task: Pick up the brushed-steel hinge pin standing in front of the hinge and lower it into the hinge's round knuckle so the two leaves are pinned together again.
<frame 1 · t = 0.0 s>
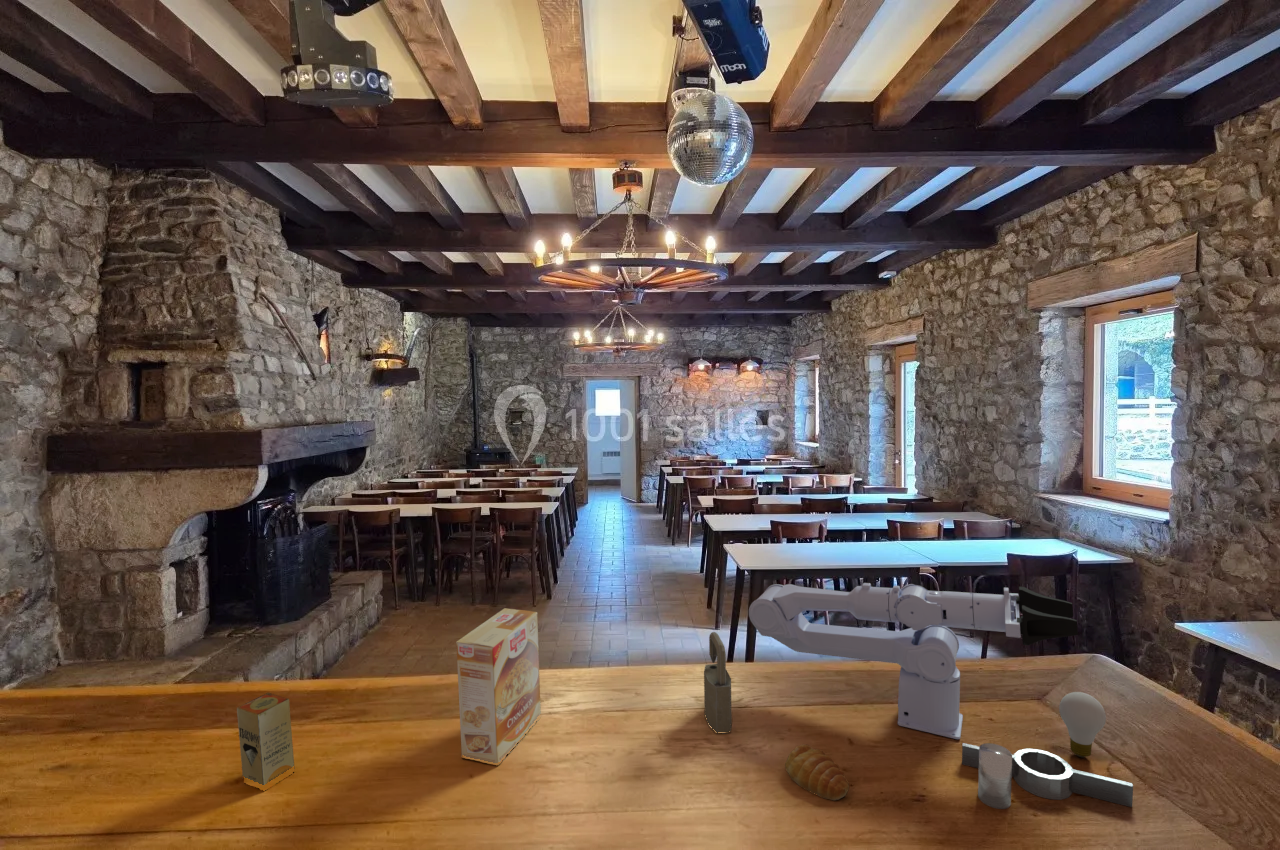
hand: (1075, 618, 98), 22 cm above the table, tool horizontal, fingers open, 7 cm apart
hinge: (1042, 782, 93), on the table
padlock: (718, 721, 112), on the table
shoe polish box: (269, 779, 99), on the table
hinge pin: (994, 799, 90), on the table
light bulb: (1080, 757, 99), on the table
coffeecake box: (503, 738, 108), on the table
pastry: (816, 781, 95), on the table
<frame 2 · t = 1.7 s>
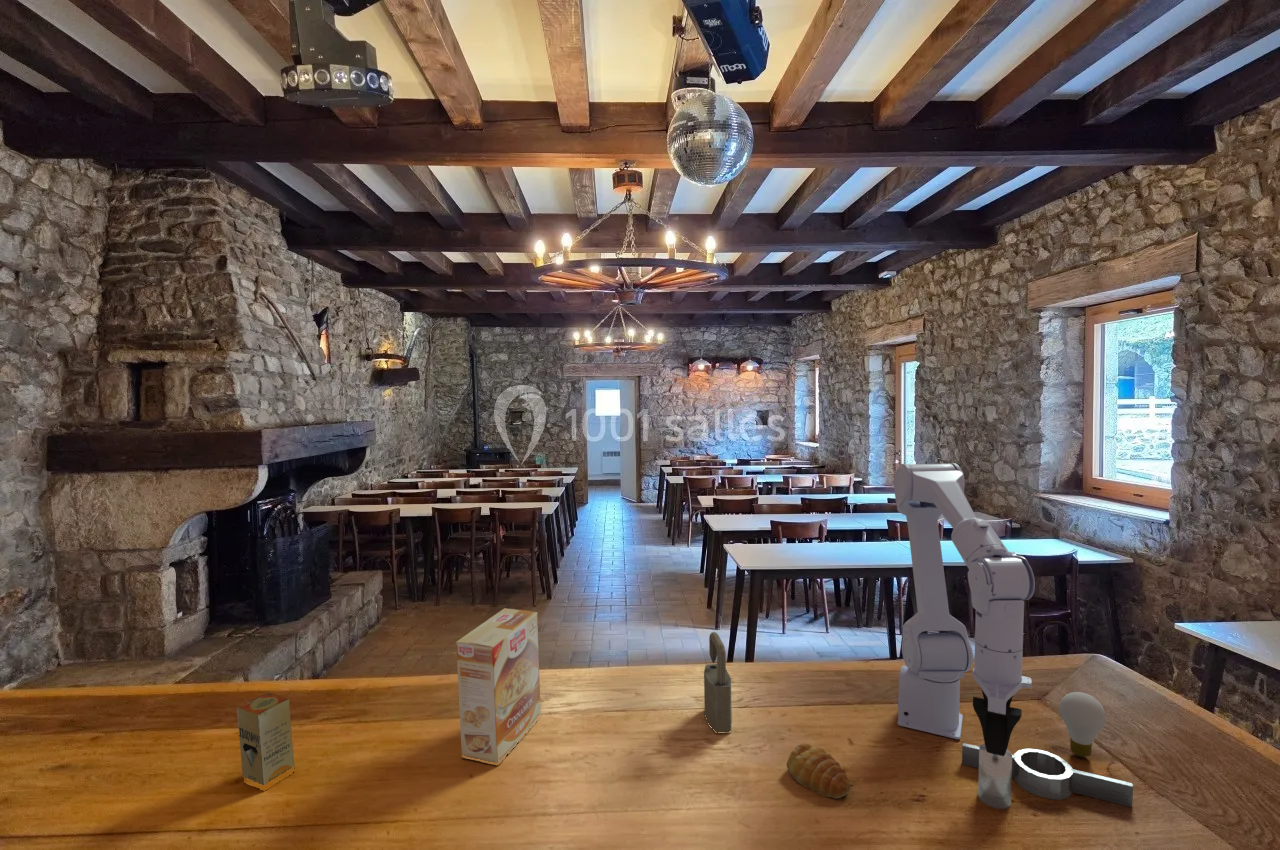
hand: (995, 738, 89), 9 cm above the table, tool pointing down, fingers open, 7 cm apart
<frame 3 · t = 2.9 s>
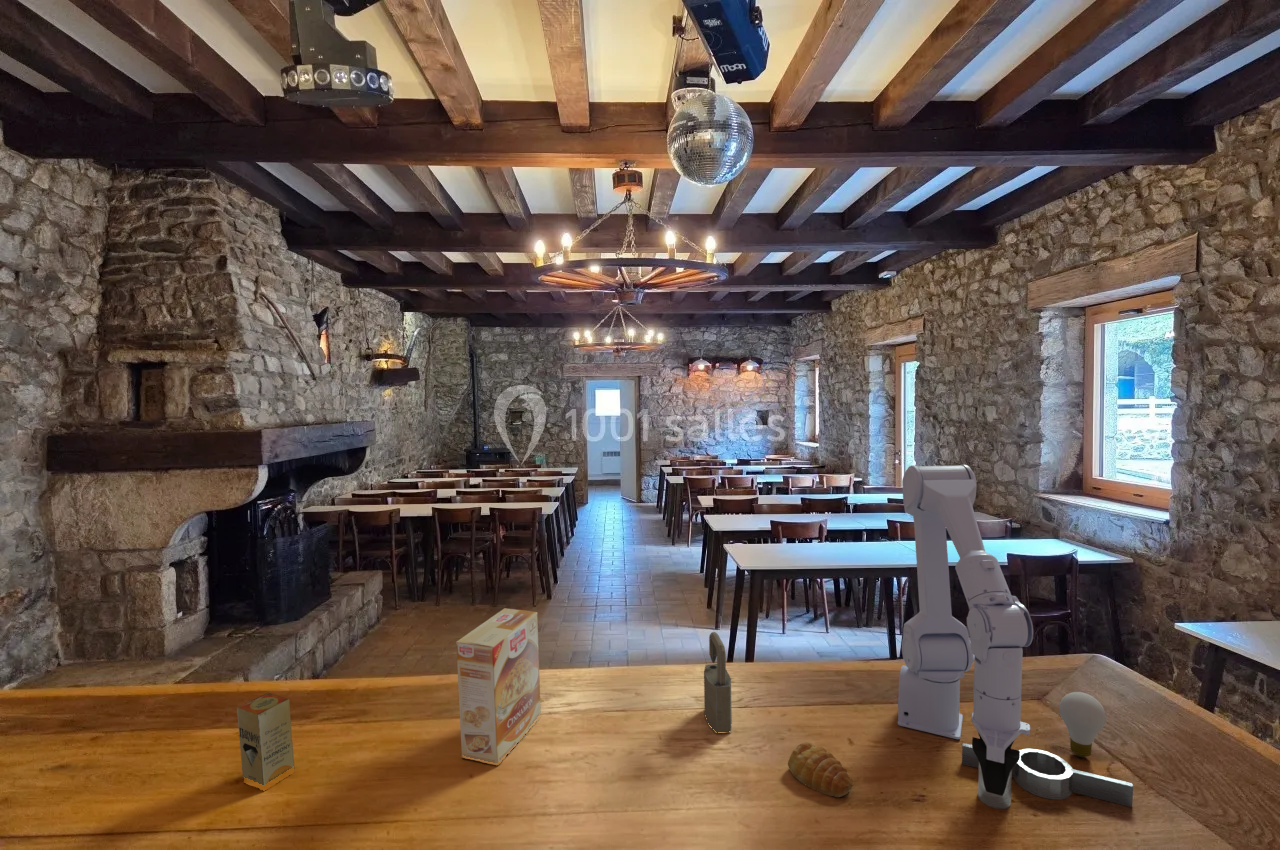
hand: (994, 782, 90), 2 cm above the table, tool pointing down, fingers closed on hinge pin, 4 cm apart
hinge pin: (994, 799, 90), on the table, touching gripper
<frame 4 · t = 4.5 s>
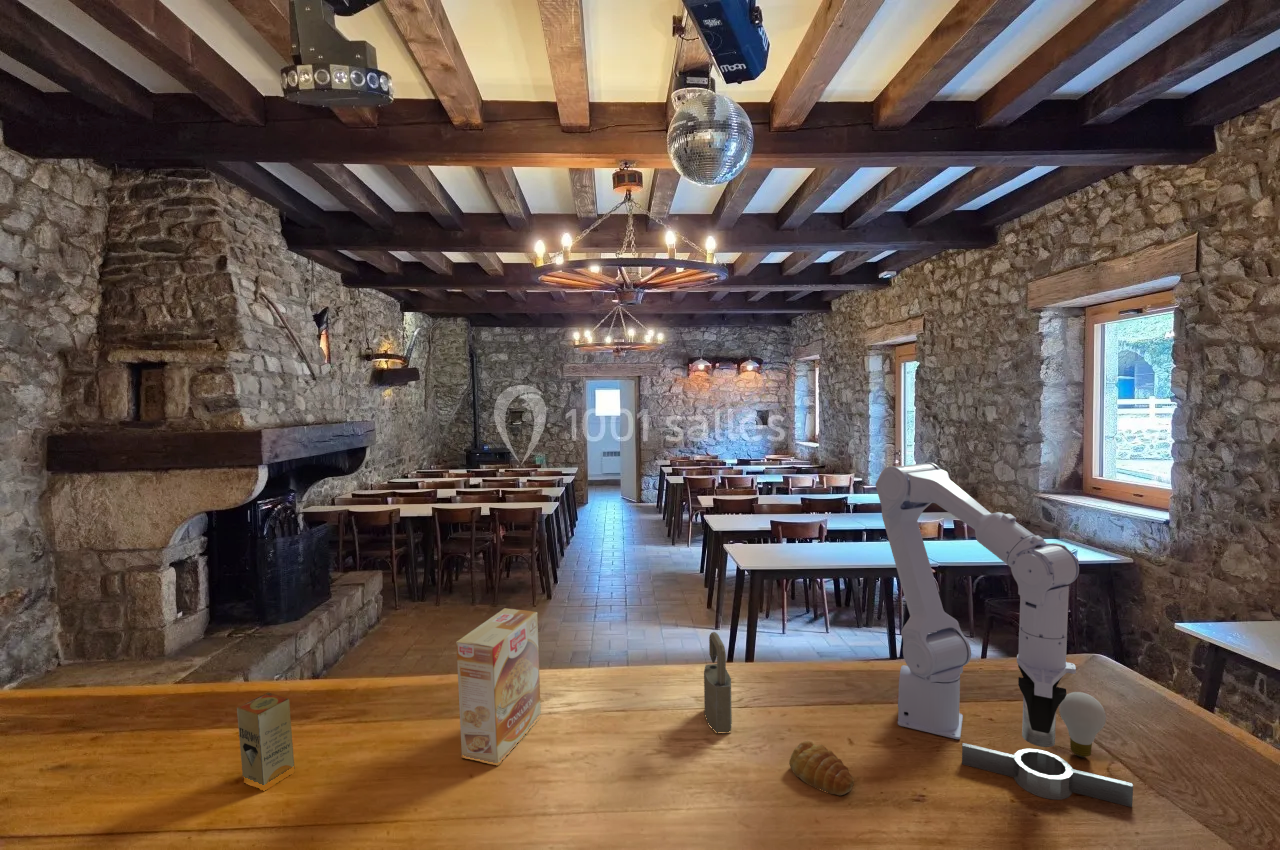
hand: (1039, 722, 92), 9 cm above the table, tool pointing down, fingers closed on hinge pin, 4 cm apart
hinge pin: (1038, 738, 92), point 7 cm above the table, touching gripper
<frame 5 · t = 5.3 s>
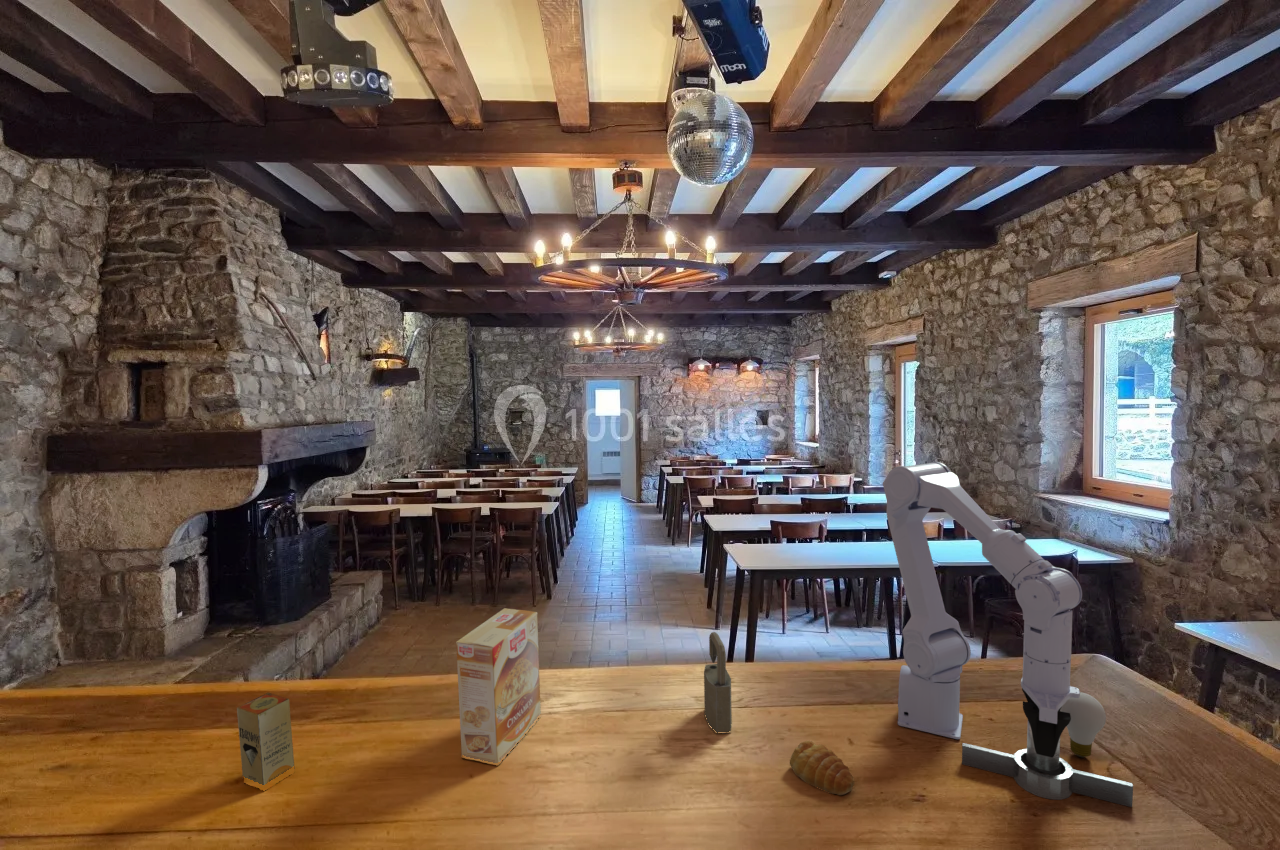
hand: (1043, 746, 93), 6 cm above the table, tool pointing down, fingers closed on hinge pin, 4 cm apart
hinge pin: (1042, 762, 93), point 3 cm above the table, touching gripper
when the fingers open (4 cm above the table, at t = 6.0 s): hinge pin drops 1 cm, resting in hinge.
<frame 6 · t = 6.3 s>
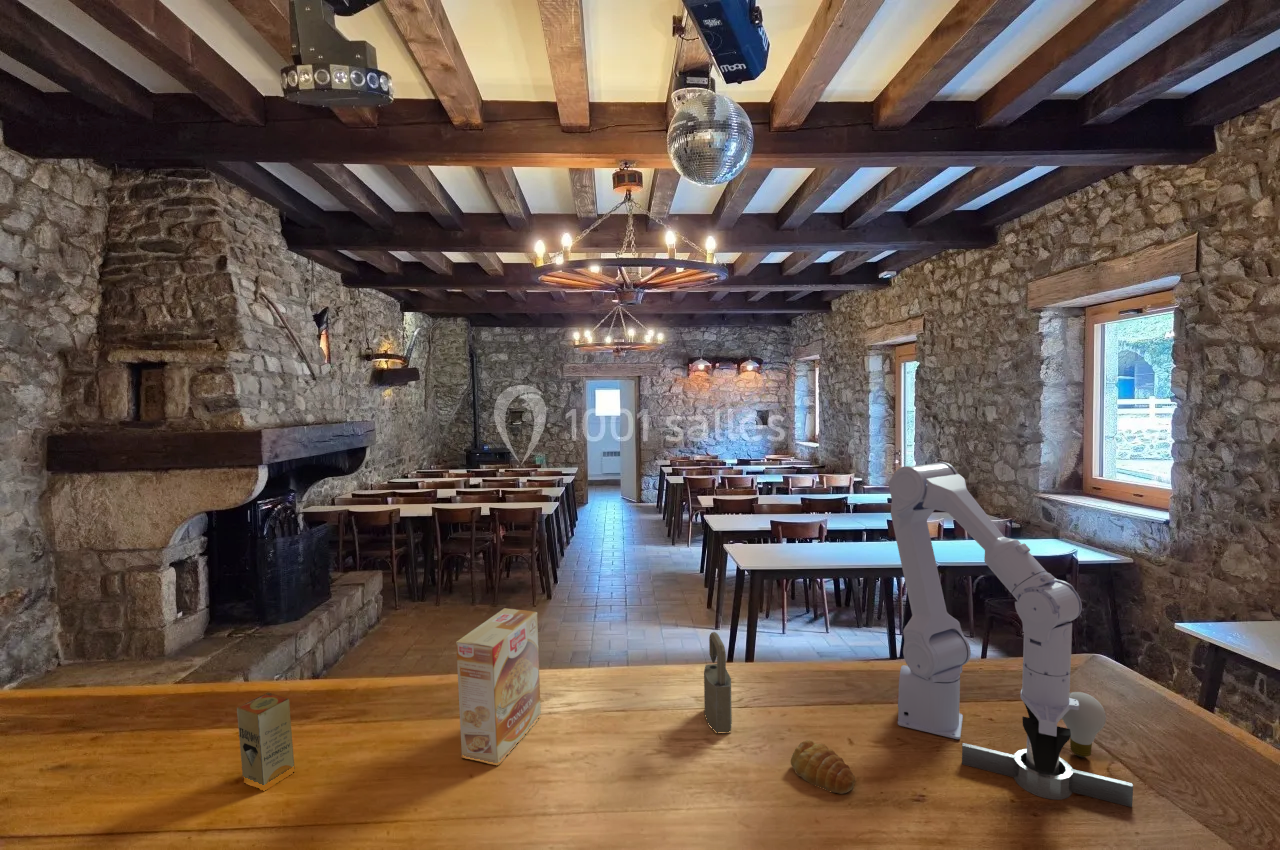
hand: (1043, 757, 93), 4 cm above the table, tool pointing down, fingers open, 6 cm apart
hinge pin: (1041, 783, 93), resting in hinge
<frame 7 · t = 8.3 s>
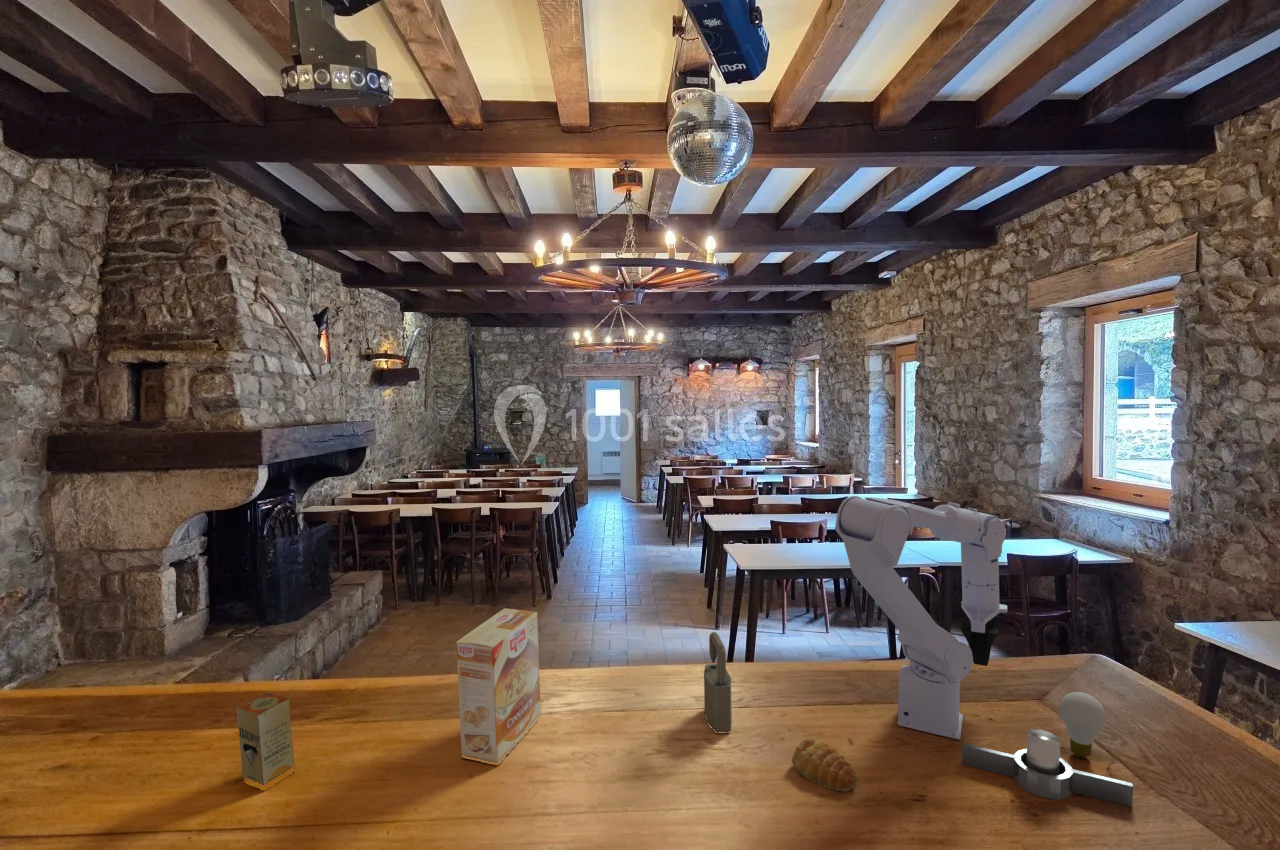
hand: (982, 653, 113), 10 cm above the table, tool pointing down, fingers open, 7 cm apart
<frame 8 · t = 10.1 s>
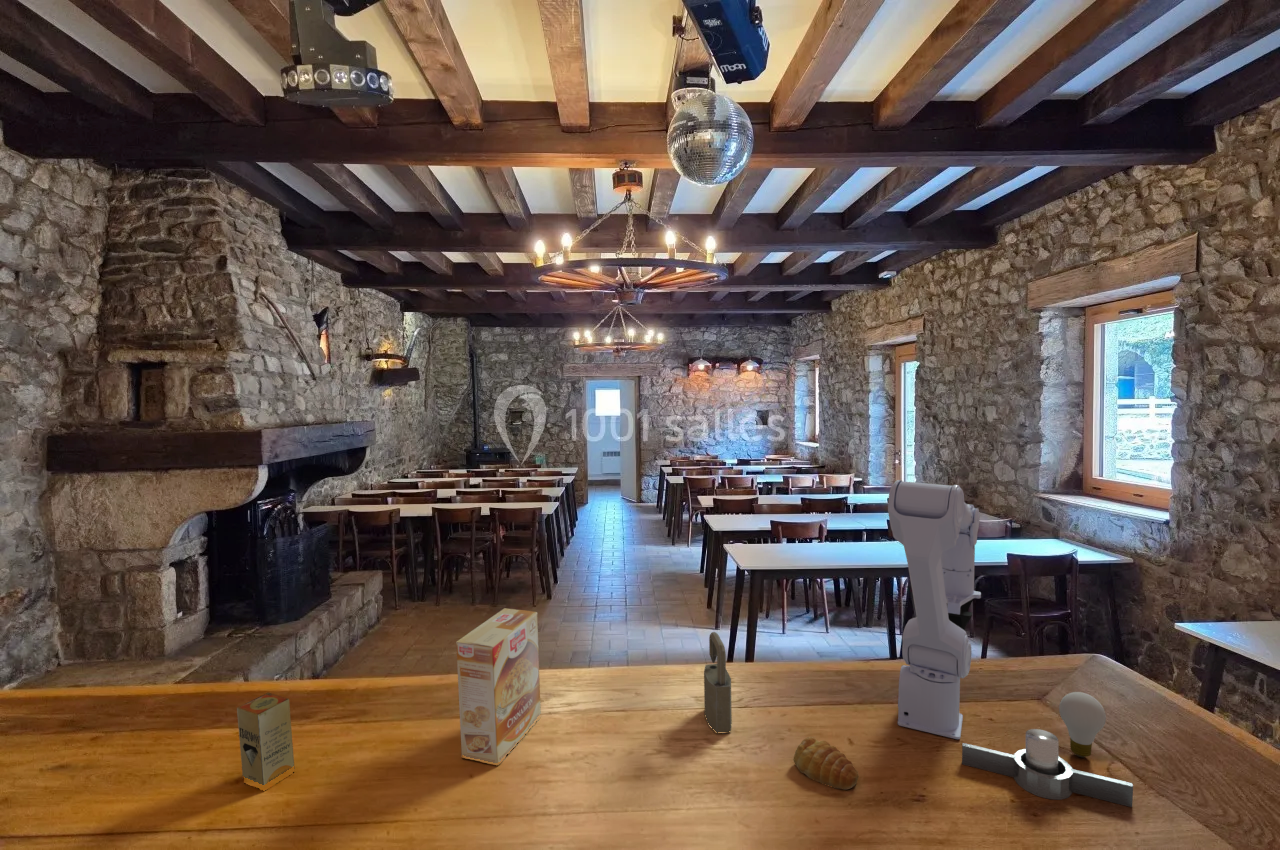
hand: (955, 638, 120), 9 cm above the table, tool pointing down, fingers open, 7 cm apart
at the end: hinge pin 0.1 cm off-centre on the hinge, point 0.0 cm above the hinge's base; hinge pin tilted 2°; the gripper is holding nothing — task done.
